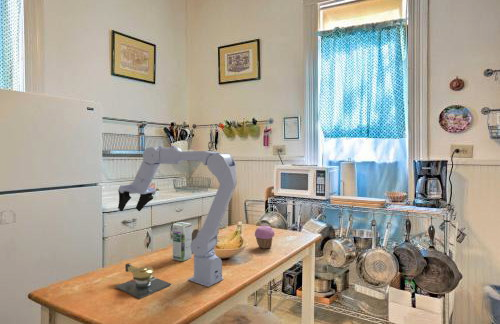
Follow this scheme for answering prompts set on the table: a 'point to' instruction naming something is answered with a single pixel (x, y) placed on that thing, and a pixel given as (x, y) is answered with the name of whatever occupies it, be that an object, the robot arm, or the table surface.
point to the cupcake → (264, 236)
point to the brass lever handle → (140, 272)
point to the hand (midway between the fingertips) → (129, 209)
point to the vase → (194, 234)
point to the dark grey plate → (143, 286)
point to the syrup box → (182, 241)
